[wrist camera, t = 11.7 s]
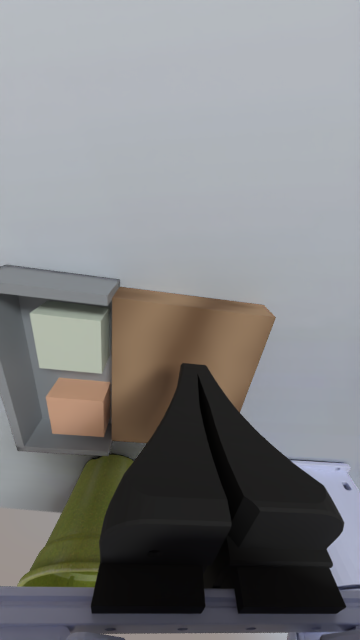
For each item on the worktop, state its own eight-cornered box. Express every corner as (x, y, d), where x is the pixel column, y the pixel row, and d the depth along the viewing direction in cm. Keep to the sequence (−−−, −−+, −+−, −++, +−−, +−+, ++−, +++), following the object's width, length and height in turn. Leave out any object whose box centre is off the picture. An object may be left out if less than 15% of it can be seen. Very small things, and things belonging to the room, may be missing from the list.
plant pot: (74, 434, 21) (16, 566, 13) (167, 451, 22) (164, 578, 15) (64, 485, 25) (14, 610, 17) (144, 497, 26) (132, 616, 19)
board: (263, 305, 15) (275, 317, 13) (221, 427, 21) (226, 448, 19) (119, 286, 14) (112, 297, 13) (116, 420, 20) (111, 440, 18)
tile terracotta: (110, 382, 17) (103, 401, 16) (110, 416, 19) (104, 437, 17) (59, 377, 17) (45, 397, 15) (63, 412, 19) (52, 433, 17)
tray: (119, 279, 14) (107, 295, 11) (116, 423, 20) (108, 456, 18) (6, 264, 14) (-36, 278, 11) (38, 418, 20) (17, 450, 17)
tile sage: (109, 307, 15) (100, 321, 13) (109, 355, 16) (101, 373, 15) (47, 300, 14) (29, 313, 12) (54, 350, 16) (39, 367, 14)
